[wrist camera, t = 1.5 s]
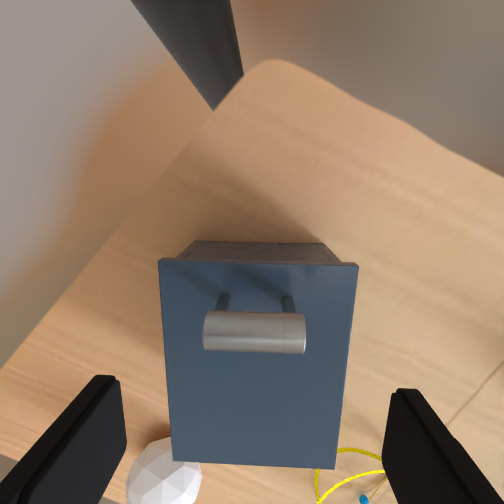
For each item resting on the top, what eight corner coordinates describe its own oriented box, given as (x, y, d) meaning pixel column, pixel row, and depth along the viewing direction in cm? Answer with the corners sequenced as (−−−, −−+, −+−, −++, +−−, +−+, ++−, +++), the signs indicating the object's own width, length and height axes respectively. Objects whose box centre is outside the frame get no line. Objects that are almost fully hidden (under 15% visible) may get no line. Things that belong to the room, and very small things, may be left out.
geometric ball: (179, 440, 37) (140, 516, 32) (145, 414, 33) (93, 498, 27) (224, 464, 33) (187, 555, 28) (192, 438, 28) (141, 541, 23)
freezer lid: (161, 257, 18) (119, 289, 13) (355, 262, 18) (394, 298, 12) (175, 451, 22) (147, 538, 17) (332, 459, 22) (354, 551, 17)
